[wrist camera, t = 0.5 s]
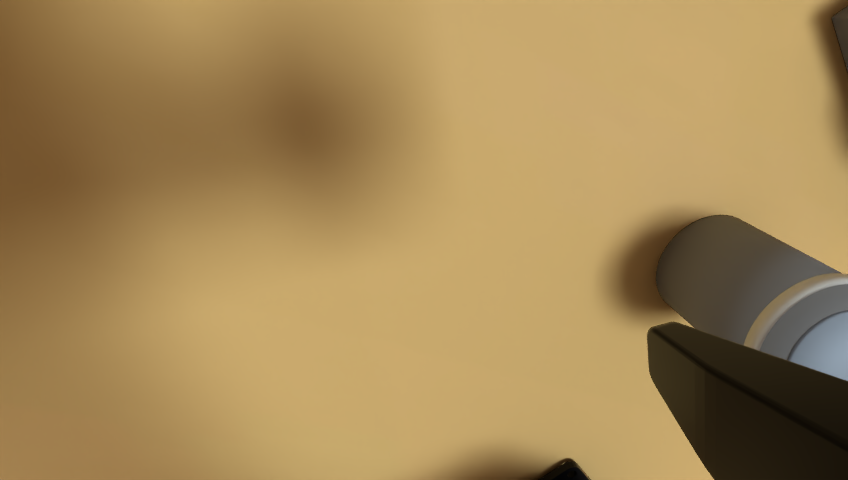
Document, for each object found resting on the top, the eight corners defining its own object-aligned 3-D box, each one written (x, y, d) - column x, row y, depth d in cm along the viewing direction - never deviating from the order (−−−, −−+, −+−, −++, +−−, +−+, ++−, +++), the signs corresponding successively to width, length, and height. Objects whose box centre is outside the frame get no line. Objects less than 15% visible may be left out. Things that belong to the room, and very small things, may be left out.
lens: (773, 271, 26) (921, 361, 19) (679, 332, 26) (792, 439, 20) (736, 190, 23) (890, 261, 17) (636, 258, 24) (747, 352, 18)
